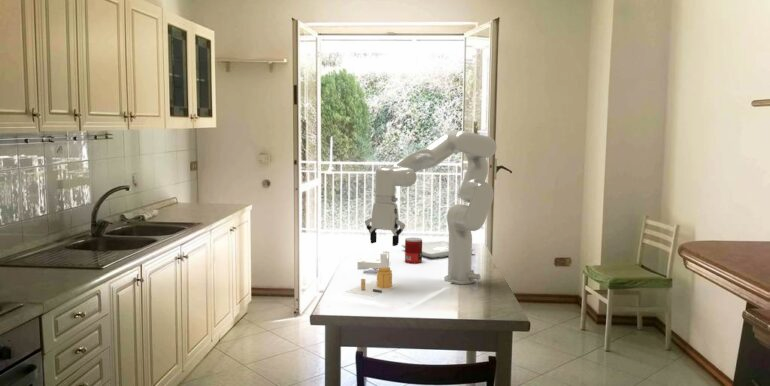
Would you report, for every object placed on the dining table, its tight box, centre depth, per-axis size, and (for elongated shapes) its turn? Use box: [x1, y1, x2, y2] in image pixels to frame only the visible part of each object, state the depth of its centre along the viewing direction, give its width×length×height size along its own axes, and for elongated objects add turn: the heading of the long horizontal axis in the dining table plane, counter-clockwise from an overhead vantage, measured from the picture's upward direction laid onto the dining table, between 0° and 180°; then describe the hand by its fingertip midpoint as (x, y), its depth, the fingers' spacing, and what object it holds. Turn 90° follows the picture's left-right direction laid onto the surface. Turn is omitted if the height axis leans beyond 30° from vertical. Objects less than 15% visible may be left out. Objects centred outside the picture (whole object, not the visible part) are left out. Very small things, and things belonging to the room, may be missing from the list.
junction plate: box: [345, 278, 399, 297], centre depth 235 cm, size 12×20×6 cm, turn 150°
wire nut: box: [376, 266, 393, 288], centre depth 238 cm, size 6×6×7 cm
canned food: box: [404, 237, 423, 265], centre depth 289 cm, size 8×8×11 cm
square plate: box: [401, 240, 475, 259], centre depth 312 cm, size 27×27×4 cm
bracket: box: [357, 250, 390, 270], centre depth 276 cm, size 13×7×8 cm, turn 80°
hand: (384, 244), depth 237 cm, fingers open, 9 cm apart
